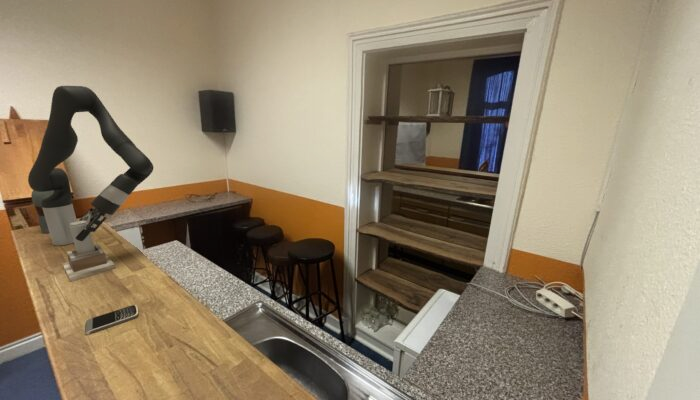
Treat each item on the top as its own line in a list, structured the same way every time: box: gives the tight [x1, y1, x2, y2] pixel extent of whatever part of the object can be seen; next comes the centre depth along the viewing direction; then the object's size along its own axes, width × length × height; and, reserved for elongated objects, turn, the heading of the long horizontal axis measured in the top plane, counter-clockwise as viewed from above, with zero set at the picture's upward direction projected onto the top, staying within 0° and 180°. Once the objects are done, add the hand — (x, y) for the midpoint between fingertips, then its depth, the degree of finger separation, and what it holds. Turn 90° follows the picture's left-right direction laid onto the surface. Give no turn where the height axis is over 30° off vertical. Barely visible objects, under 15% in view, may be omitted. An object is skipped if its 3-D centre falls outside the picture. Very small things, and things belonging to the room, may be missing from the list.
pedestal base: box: [62, 243, 116, 282], centre depth 102 cm, size 16×12×7 cm
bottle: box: [30, 189, 54, 234], centre depth 136 cm, size 9×9×30 cm
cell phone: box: [84, 304, 139, 336], centre depth 74 cm, size 6×11×1 cm, turn 131°
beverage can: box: [70, 220, 95, 255], centre depth 100 cm, size 5×5×12 cm
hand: (76, 237), depth 98 cm, fingers open, 8 cm apart
